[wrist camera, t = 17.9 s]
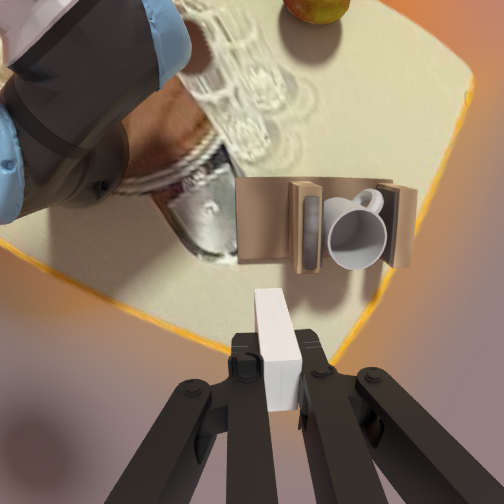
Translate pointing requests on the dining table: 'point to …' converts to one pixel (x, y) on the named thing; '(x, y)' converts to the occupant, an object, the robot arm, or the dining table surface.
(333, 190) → the base
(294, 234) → the block
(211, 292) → the dining table surface
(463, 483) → the robot arm
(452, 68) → the dining table surface
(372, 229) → the cup
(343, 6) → the fruit
